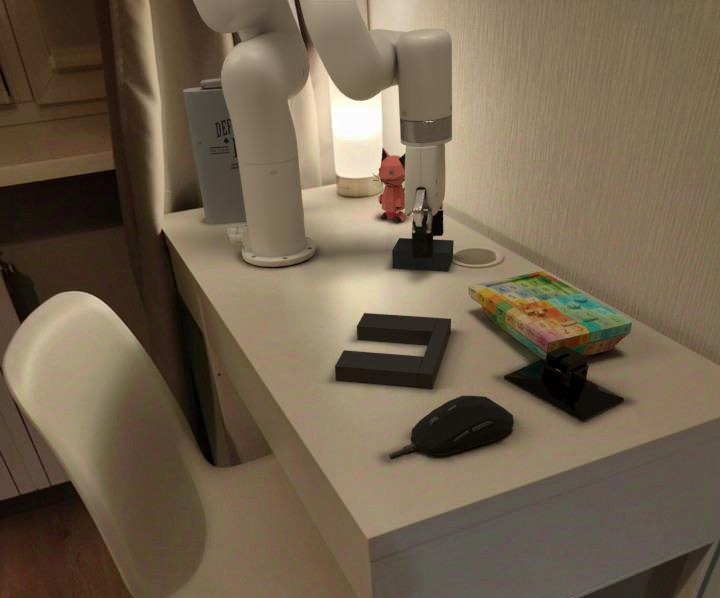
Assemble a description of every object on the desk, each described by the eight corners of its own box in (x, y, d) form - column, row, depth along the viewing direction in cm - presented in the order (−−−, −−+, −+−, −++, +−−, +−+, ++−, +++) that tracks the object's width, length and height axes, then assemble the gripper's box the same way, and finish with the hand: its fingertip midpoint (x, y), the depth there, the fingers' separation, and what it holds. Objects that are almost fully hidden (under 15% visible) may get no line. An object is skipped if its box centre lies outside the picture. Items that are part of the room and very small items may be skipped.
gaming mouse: (376, 442, 78) (374, 411, 76) (491, 406, 83) (493, 375, 80) (404, 473, 74) (403, 441, 71) (524, 433, 78) (528, 401, 76)
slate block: (448, 271, 114) (448, 252, 112) (392, 268, 116) (392, 250, 114) (453, 258, 118) (453, 240, 117) (399, 255, 120) (399, 237, 118)
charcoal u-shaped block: (432, 388, 86) (432, 374, 85) (335, 380, 89) (334, 366, 88) (450, 332, 98) (451, 318, 96) (364, 326, 100) (364, 312, 99)
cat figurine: (369, 219, 135) (366, 150, 128) (394, 209, 139) (393, 142, 132) (395, 227, 131) (394, 157, 124) (421, 217, 135) (422, 148, 127)
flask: (206, 225, 137) (180, 76, 121) (205, 218, 140) (179, 72, 125) (297, 214, 139) (283, 67, 124) (293, 207, 143) (279, 63, 127)
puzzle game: (549, 335, 84) (469, 279, 100) (545, 371, 87) (467, 311, 103) (633, 316, 87) (542, 264, 103) (626, 351, 90) (539, 296, 106)
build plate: (502, 379, 88) (505, 344, 85) (545, 360, 91) (549, 326, 88) (582, 422, 79) (588, 385, 76) (626, 400, 82) (633, 364, 80)
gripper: (411, 117, 112) (415, 227, 123) (388, 145, 99) (394, 266, 110) (460, 115, 111) (459, 227, 121) (442, 144, 97) (443, 267, 108)
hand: (428, 246), depth 115 cm, fingers open, 9 cm apart
